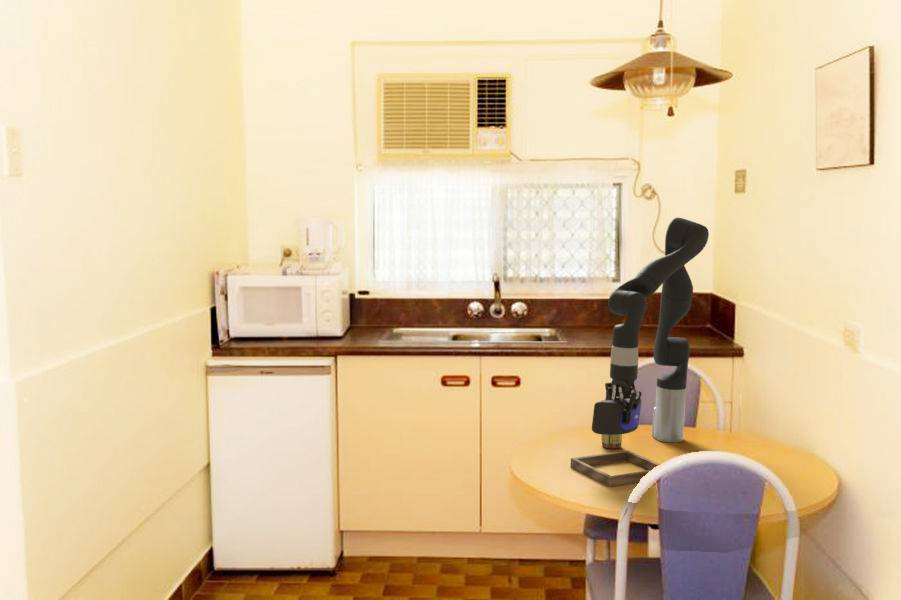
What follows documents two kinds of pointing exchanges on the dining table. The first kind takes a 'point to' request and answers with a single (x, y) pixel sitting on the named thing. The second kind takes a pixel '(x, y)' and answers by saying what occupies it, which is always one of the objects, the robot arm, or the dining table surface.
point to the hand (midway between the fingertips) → (621, 421)
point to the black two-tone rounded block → (613, 418)
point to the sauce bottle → (611, 439)
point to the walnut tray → (585, 462)
